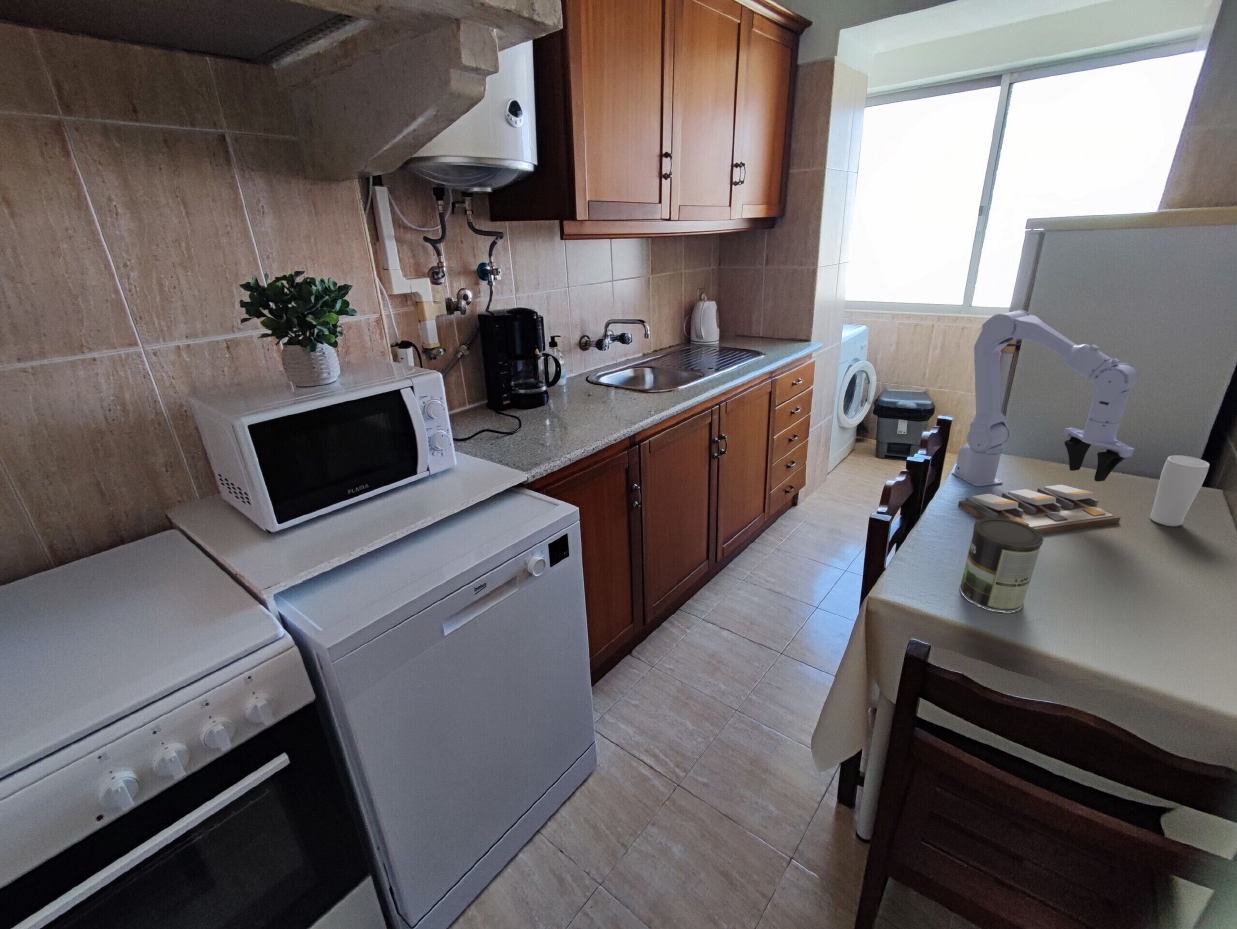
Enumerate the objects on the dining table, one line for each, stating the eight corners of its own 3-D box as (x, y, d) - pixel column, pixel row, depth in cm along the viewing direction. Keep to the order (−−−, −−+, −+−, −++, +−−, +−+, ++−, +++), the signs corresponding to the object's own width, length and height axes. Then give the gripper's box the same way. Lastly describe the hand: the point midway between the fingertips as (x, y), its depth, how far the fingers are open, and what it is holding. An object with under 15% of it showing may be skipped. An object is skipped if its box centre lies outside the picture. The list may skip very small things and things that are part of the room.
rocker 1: (971, 500, 135) (971, 495, 135) (989, 498, 136) (990, 493, 135) (998, 510, 127) (999, 504, 127) (1017, 507, 128) (1018, 502, 128)
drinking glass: (1150, 525, 125) (1173, 464, 120) (1141, 512, 131) (1162, 453, 125) (1190, 531, 122) (1215, 468, 117) (1179, 518, 128) (1203, 457, 122)
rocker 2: (1043, 491, 138) (1043, 486, 138) (1060, 489, 139) (1061, 483, 138) (1074, 500, 130) (1074, 494, 130) (1092, 497, 131) (1093, 492, 131)
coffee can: (954, 600, 104) (969, 534, 99) (964, 574, 111) (979, 512, 106) (1020, 621, 98) (1040, 552, 92) (1027, 593, 105) (1046, 527, 100)
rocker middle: (1007, 496, 136) (1008, 490, 136) (1025, 493, 137) (1026, 488, 137) (1036, 505, 129) (1037, 499, 128) (1055, 502, 129) (1056, 497, 129)
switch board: (957, 506, 138) (960, 494, 136) (1056, 493, 142) (1059, 482, 140) (1010, 538, 123) (1014, 526, 122) (1118, 522, 127) (1123, 510, 126)
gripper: (1153, 427, 118) (1133, 485, 123) (1088, 408, 131) (1072, 461, 136) (1124, 431, 117) (1105, 489, 122) (1062, 411, 130) (1047, 464, 135)
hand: (1086, 475), depth 129 cm, fingers open, 6 cm apart
